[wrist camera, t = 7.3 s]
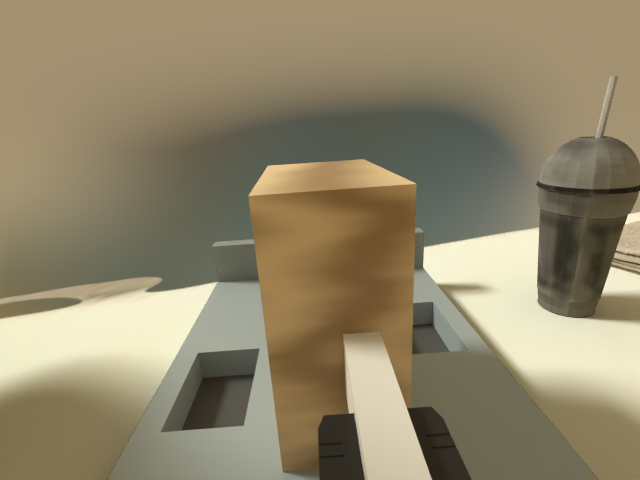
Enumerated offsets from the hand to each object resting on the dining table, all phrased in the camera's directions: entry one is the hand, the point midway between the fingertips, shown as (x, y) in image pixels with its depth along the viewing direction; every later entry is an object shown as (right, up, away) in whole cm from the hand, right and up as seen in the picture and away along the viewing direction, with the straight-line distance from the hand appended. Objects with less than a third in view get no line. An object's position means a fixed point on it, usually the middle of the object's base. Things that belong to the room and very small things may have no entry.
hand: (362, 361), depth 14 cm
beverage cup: (+22, -1, +19) cm, 29 cm away
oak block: (-1, -4, +7) cm, 8 cm away
